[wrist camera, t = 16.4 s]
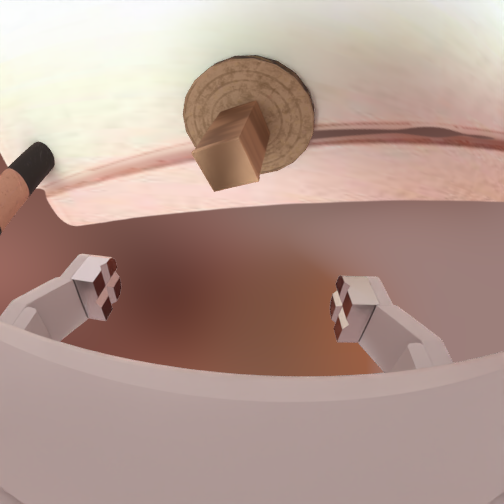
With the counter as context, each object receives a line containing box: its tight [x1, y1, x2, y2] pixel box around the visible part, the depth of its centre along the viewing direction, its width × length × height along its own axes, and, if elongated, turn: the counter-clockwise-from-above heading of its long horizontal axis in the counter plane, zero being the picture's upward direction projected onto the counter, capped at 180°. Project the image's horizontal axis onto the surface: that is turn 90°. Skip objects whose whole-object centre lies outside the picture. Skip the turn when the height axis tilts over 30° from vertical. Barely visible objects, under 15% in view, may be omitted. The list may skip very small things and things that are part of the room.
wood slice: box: [183, 55, 314, 174], centre depth 31 cm, size 16×16×3 cm
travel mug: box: [0, 142, 54, 234], centre depth 35 cm, size 8×8×20 cm
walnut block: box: [192, 100, 270, 192], centre depth 27 cm, size 5×5×10 cm
